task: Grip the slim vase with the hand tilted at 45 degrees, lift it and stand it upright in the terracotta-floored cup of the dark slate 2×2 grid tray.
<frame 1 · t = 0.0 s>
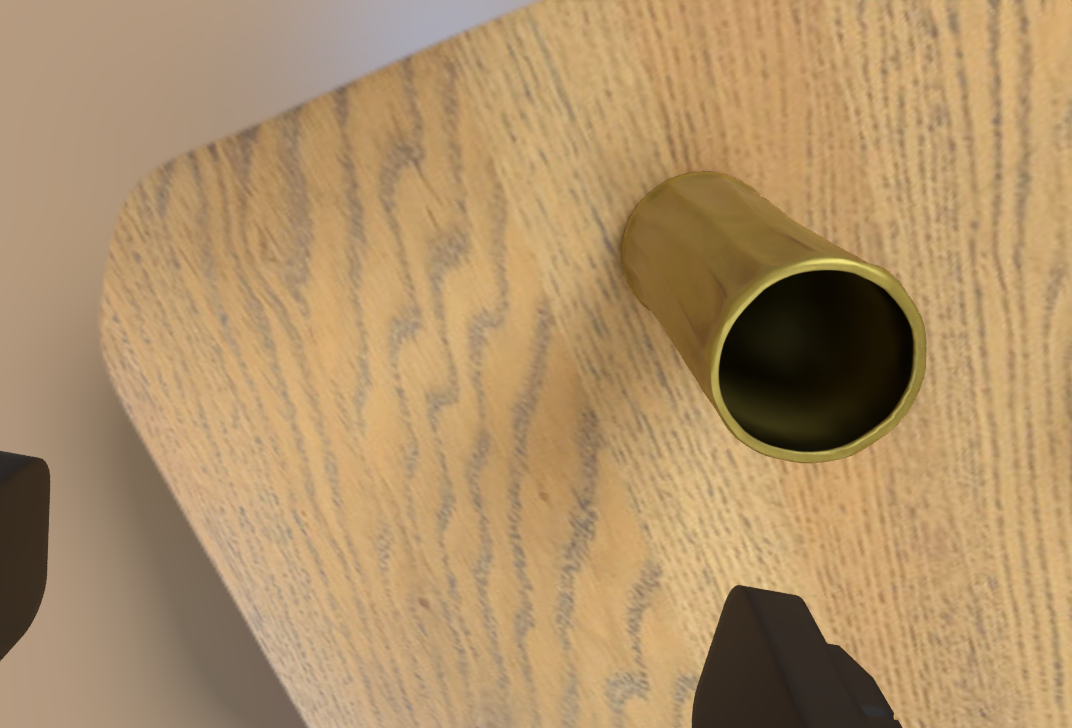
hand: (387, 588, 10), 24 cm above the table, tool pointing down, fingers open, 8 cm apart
vase: (696, 248, 34), on the table
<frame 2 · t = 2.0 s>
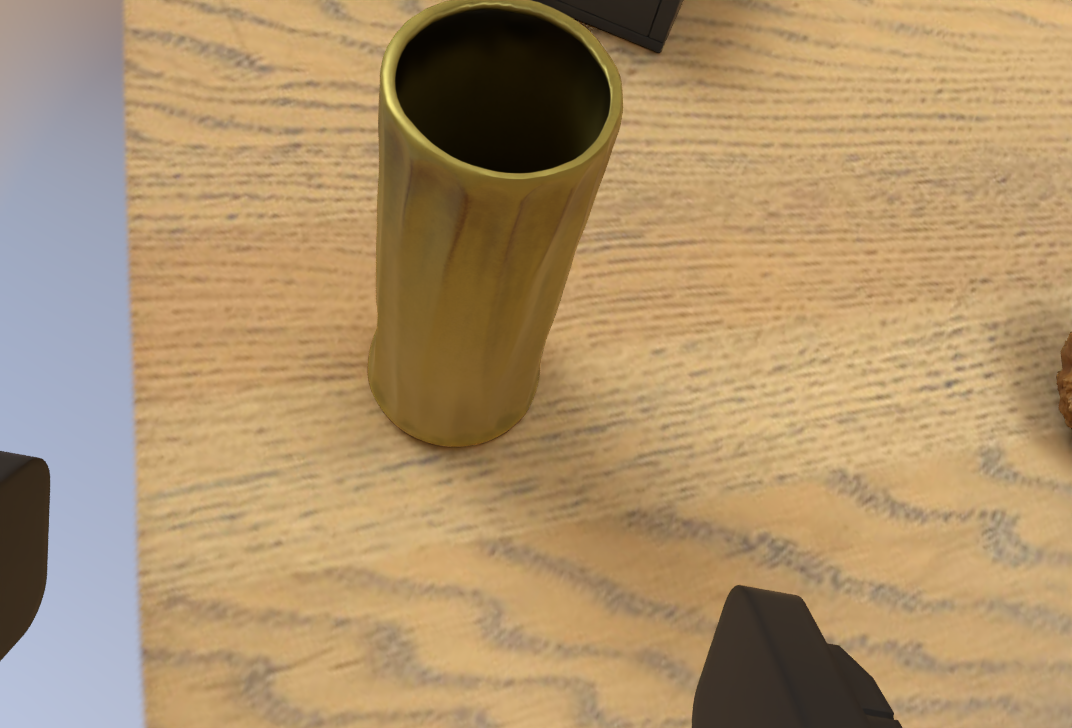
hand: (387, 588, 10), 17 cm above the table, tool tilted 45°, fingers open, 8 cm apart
vase: (453, 371, 31), on the table
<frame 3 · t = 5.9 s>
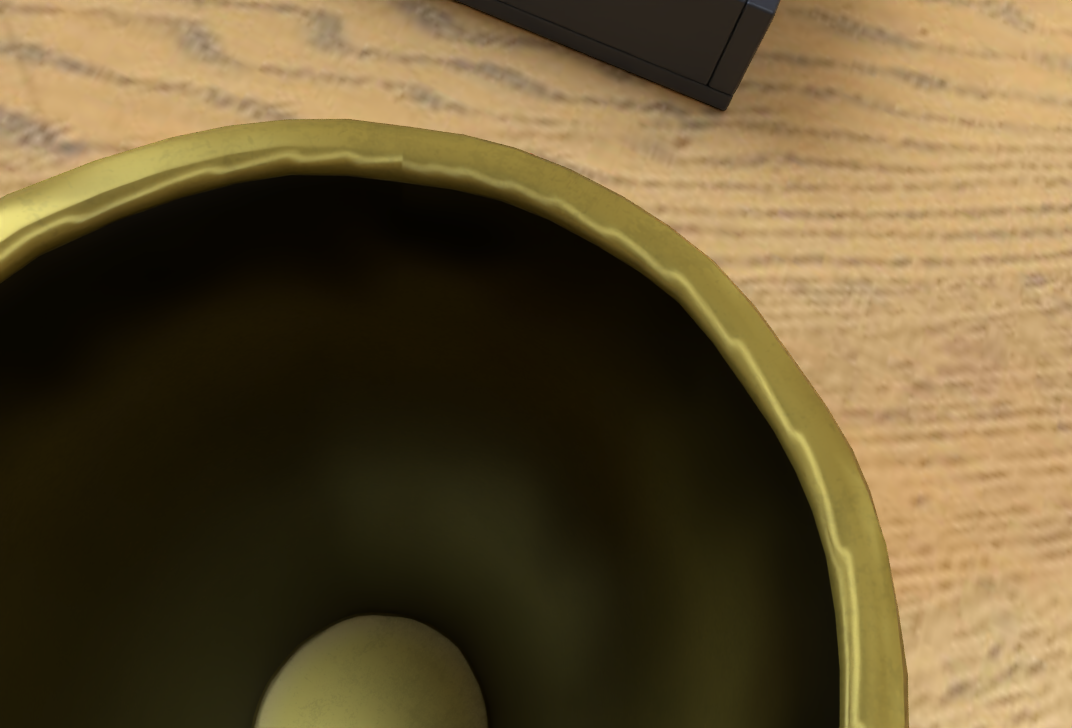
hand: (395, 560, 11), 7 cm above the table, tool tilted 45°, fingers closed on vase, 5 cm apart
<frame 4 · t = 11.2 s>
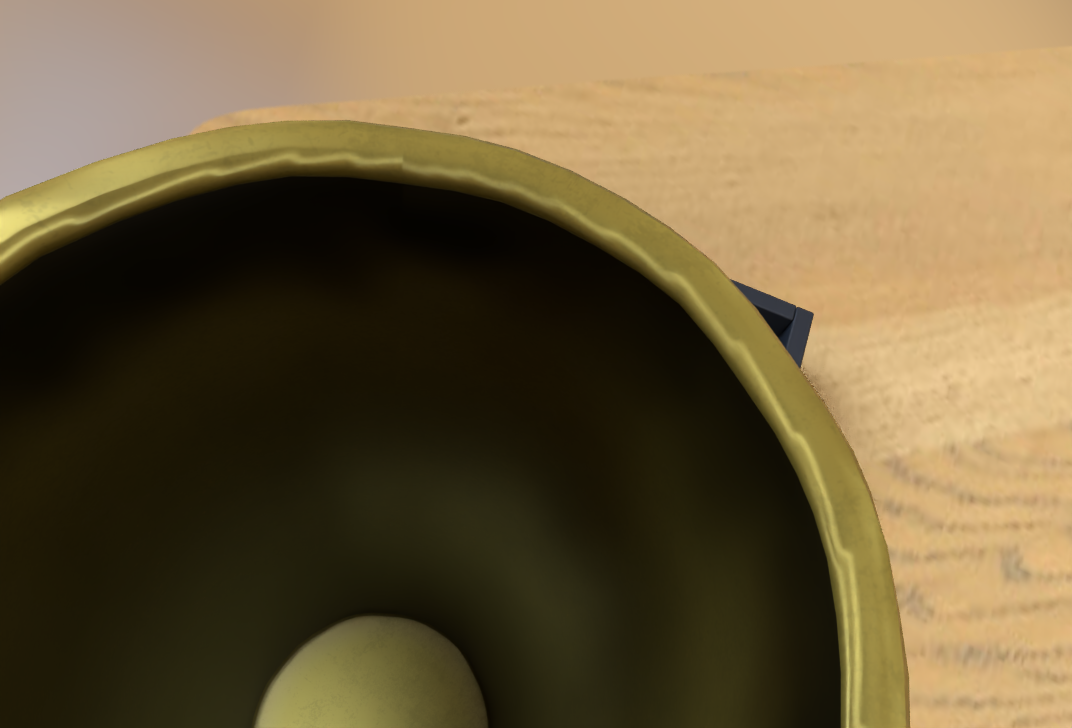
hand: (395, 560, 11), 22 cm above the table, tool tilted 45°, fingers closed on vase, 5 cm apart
grid: (523, 446, 35), on the table
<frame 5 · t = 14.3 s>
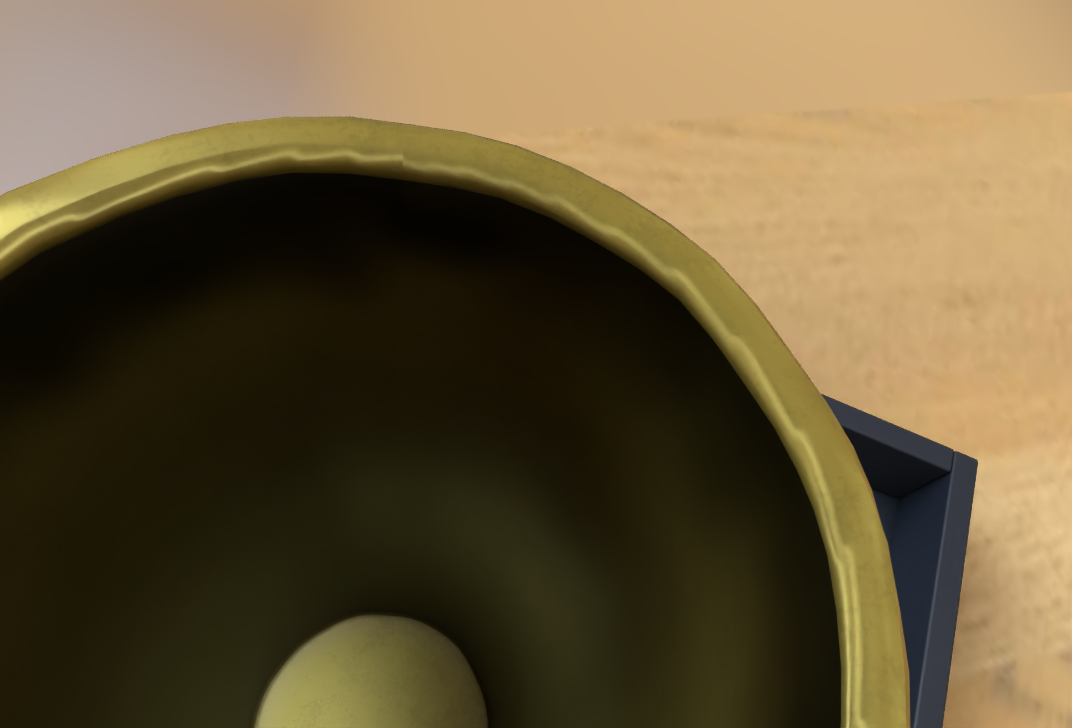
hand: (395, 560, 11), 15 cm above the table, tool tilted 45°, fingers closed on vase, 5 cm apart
grid: (576, 647, 25), on the table
when the fingers open (8 cm above the table, at t = 16.6 s): vase stays where it is, resting on grid.
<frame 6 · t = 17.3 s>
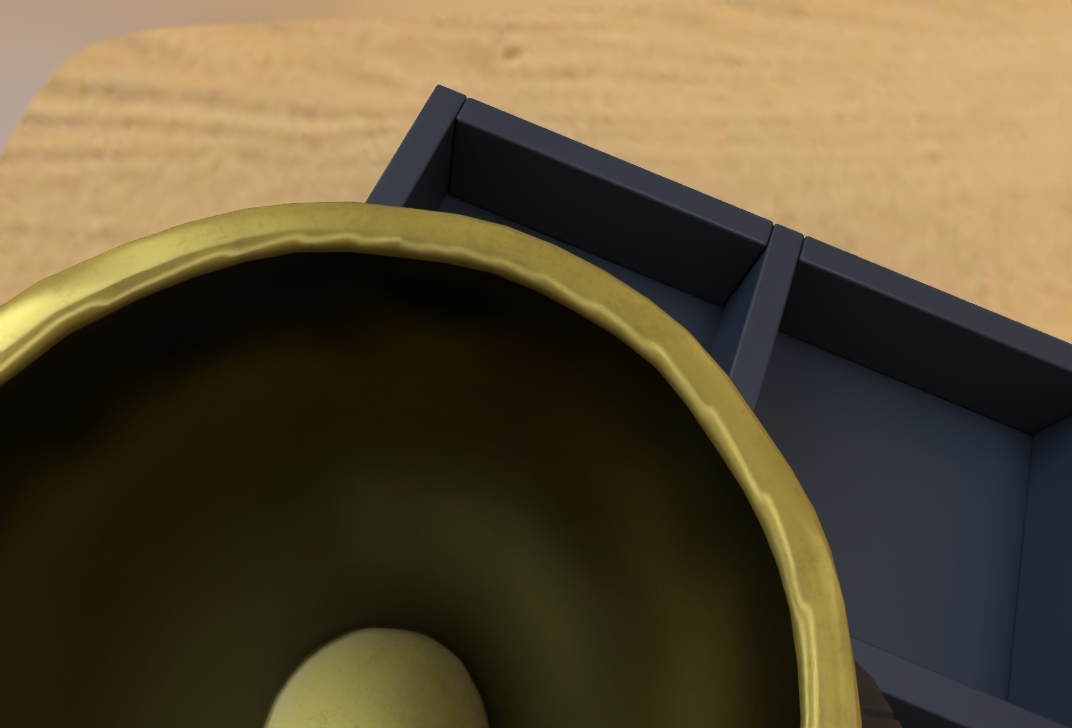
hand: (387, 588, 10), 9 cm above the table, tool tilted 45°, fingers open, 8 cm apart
grid: (636, 618, 19), on the table
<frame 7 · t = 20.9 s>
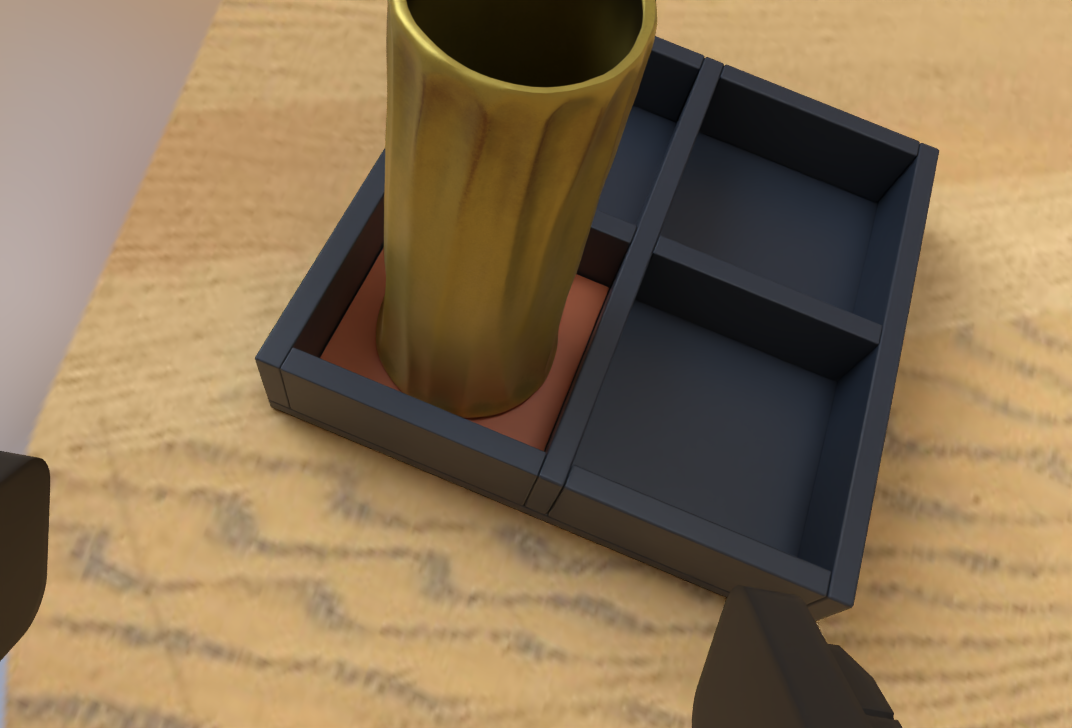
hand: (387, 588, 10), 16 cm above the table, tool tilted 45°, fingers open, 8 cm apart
vase: (466, 340, 29), point 1 cm above the table, touching grid
grid: (619, 293, 31), on the table
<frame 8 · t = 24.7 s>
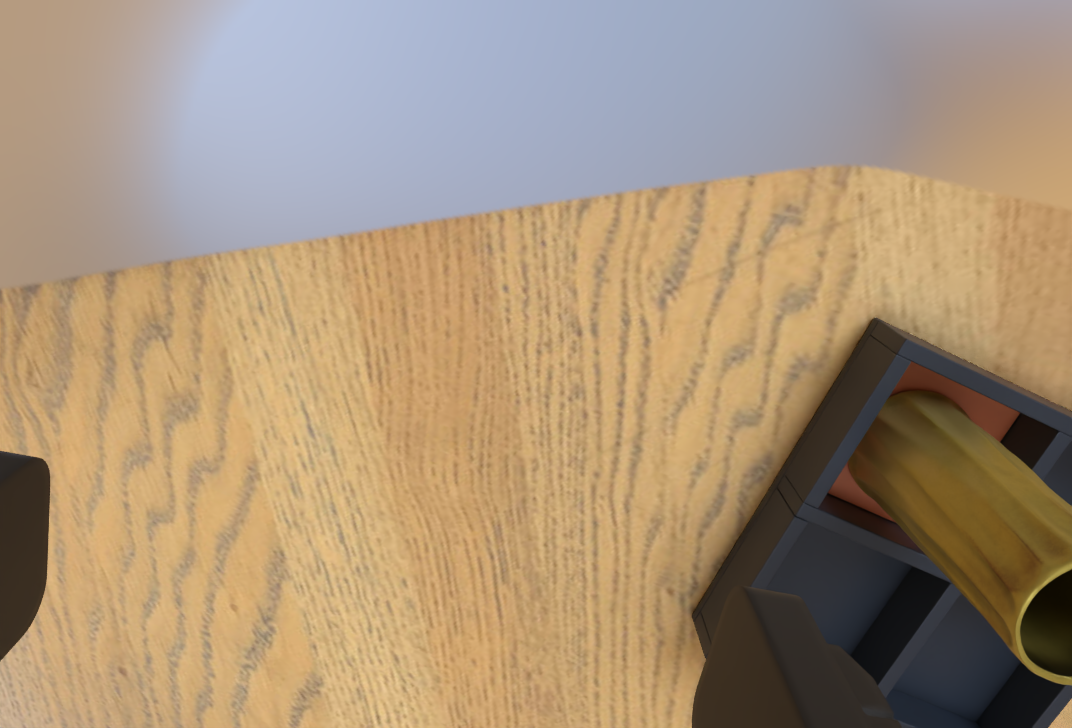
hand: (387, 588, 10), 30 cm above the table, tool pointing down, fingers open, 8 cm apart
vase: (905, 445, 42), point 1 cm above the table, touching grid
grid: (928, 541, 44), on the table
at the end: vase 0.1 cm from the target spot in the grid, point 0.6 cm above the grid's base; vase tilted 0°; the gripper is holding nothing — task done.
